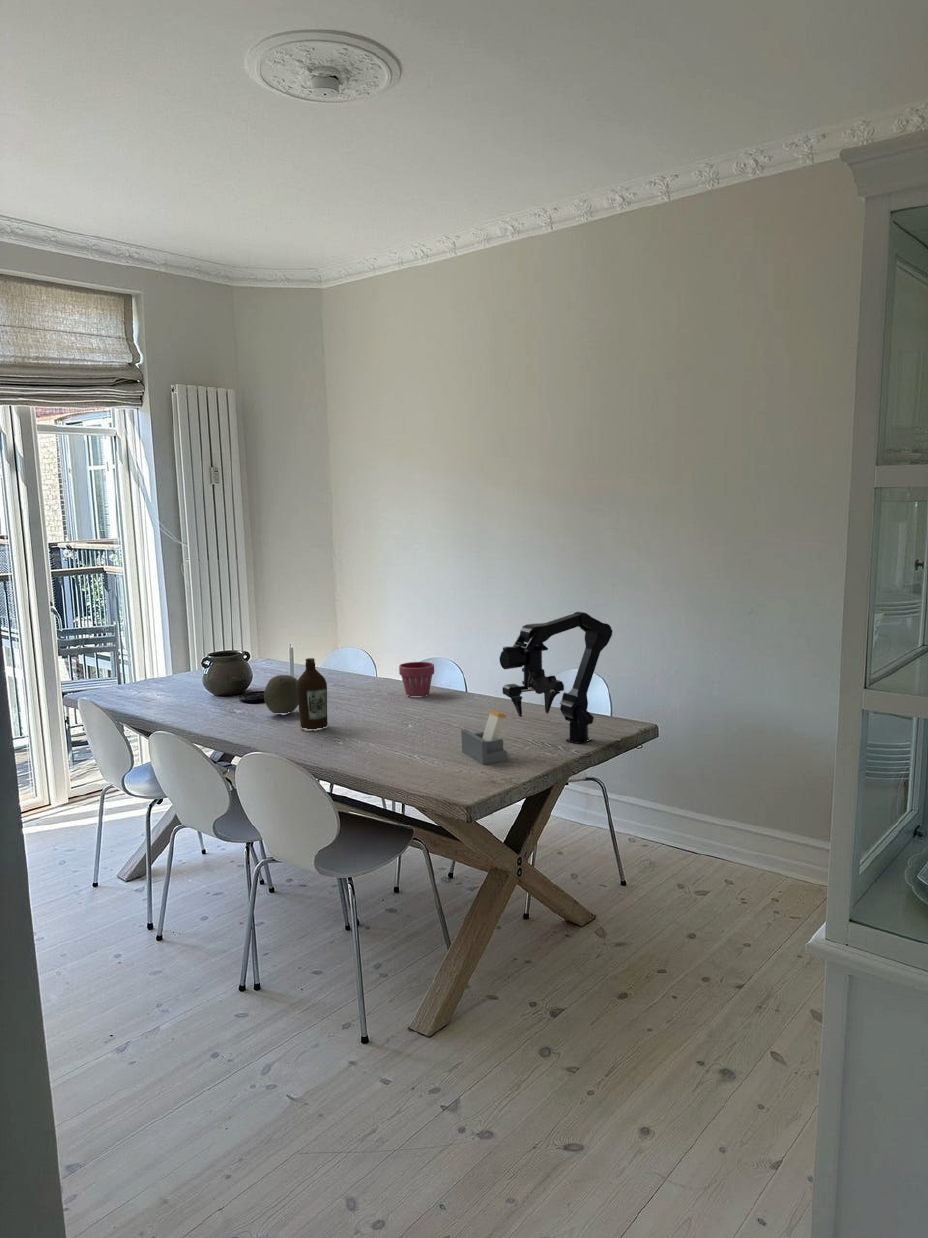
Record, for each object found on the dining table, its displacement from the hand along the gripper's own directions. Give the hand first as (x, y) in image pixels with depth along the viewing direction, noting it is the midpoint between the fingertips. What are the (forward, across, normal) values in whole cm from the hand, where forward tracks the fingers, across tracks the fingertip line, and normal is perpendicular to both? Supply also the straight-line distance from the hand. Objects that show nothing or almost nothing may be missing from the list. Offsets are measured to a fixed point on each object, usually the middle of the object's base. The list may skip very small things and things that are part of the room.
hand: (533, 715), depth 270 cm
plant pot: (+11, -7, +92) cm, 93 cm away
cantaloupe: (+12, -62, +88) cm, 109 cm away
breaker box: (+11, -17, +1) cm, 20 cm away
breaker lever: (+8, -15, +1) cm, 17 cm away
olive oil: (+12, -57, +61) cm, 84 cm away
